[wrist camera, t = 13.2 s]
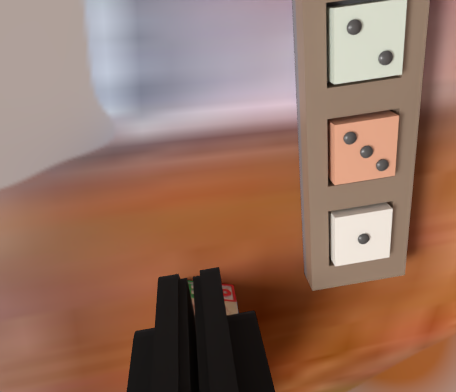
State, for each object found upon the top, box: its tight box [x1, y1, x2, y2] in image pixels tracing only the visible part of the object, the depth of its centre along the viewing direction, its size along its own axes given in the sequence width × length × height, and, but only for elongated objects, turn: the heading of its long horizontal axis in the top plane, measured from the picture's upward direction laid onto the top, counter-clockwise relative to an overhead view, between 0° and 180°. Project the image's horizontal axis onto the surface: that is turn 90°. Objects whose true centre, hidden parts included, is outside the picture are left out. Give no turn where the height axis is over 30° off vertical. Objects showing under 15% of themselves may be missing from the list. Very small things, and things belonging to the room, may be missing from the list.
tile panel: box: [292, 0, 430, 291], centre depth 38 cm, size 30×10×3 cm, turn 7°
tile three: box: [327, 110, 399, 185], centre depth 37 cm, size 6×6×3 cm
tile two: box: [326, 0, 407, 84], centre depth 33 cm, size 6×6×3 cm
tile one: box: [328, 202, 393, 266], centre depth 41 cm, size 6×6×3 cm
